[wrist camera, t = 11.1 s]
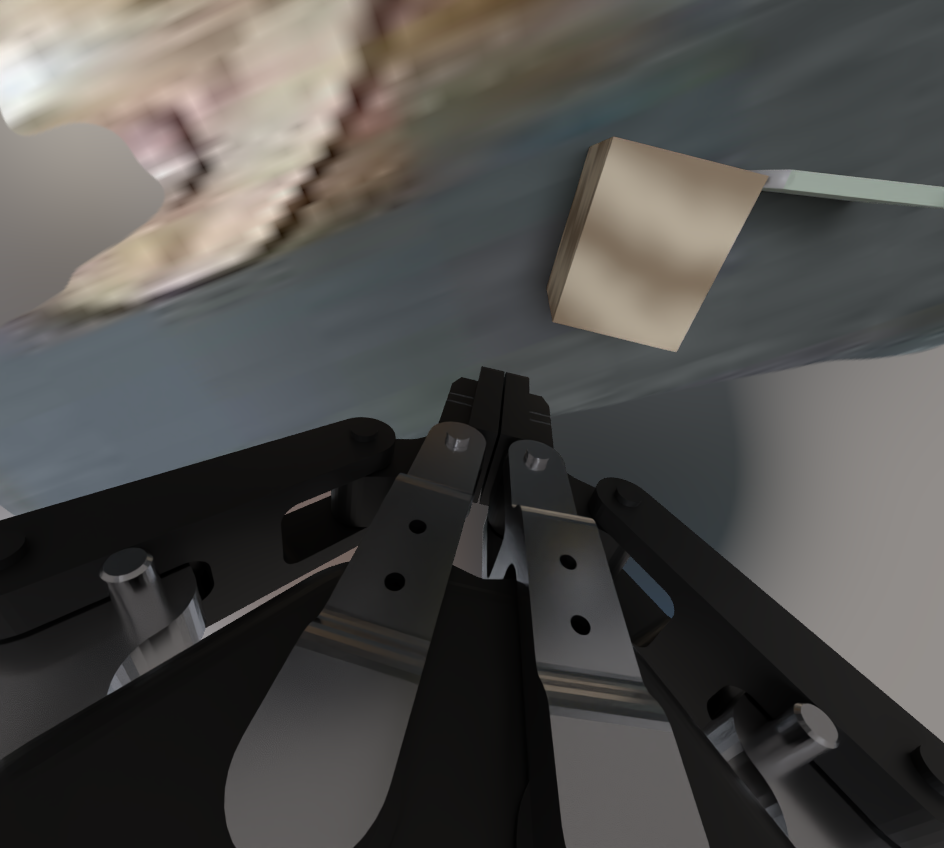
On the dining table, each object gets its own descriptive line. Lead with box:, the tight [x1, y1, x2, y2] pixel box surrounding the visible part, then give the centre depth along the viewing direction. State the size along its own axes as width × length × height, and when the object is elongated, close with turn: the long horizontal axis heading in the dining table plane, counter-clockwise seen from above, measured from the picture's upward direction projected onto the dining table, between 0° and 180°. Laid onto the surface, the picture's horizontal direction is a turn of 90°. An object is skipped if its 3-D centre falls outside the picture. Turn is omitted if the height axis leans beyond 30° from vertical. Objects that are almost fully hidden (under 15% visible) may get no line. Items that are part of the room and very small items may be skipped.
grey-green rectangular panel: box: [747, 170, 944, 209], centre depth 27 cm, size 12×2×16 cm, turn 84°
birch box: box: [546, 137, 769, 352], centre depth 33 cm, size 12×10×11 cm
